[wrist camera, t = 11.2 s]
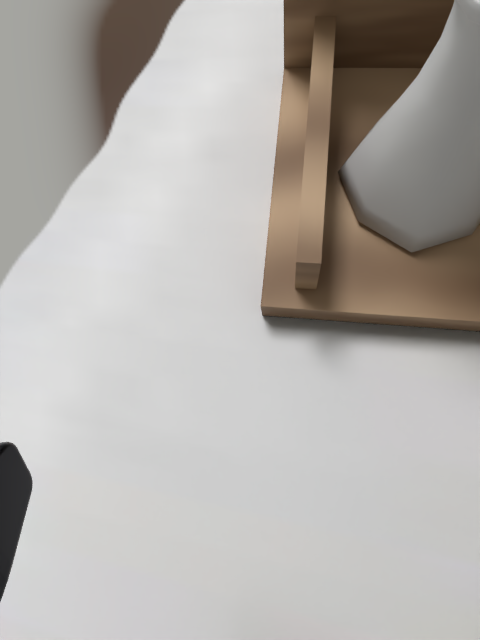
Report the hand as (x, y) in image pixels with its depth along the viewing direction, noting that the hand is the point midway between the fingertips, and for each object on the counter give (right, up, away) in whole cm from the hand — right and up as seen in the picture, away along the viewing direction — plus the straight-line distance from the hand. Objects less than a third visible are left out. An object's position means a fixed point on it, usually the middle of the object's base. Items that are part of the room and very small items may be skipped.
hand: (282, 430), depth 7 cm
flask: (+8, +8, +15) cm, 19 cm away
